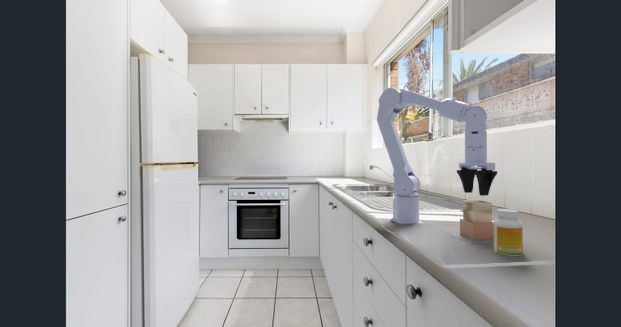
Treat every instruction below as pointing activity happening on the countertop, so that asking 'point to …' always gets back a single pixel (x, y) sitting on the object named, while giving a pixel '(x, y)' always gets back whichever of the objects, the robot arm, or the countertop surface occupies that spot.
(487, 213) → the birch block
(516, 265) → the countertop surface
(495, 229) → the supplement bottle
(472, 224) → the base block
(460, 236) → the baseplate
